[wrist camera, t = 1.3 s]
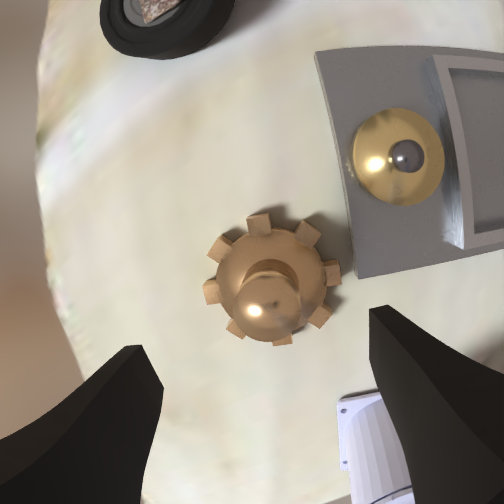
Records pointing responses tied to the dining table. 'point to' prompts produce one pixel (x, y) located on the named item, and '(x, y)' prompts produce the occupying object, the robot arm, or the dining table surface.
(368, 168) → the carrier
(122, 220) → the dining table surface
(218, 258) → the gear
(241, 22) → the dining table surface
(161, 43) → the caster wheel
